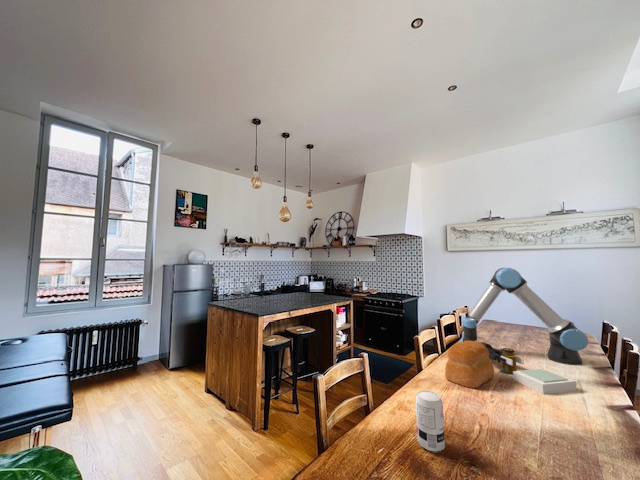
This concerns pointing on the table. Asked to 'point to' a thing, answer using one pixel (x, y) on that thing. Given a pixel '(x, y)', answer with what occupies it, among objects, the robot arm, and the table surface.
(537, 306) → the robot arm
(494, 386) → the table surface
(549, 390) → the riser
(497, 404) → the table surface
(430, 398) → the supplement can
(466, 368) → the bread
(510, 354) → the condiment
